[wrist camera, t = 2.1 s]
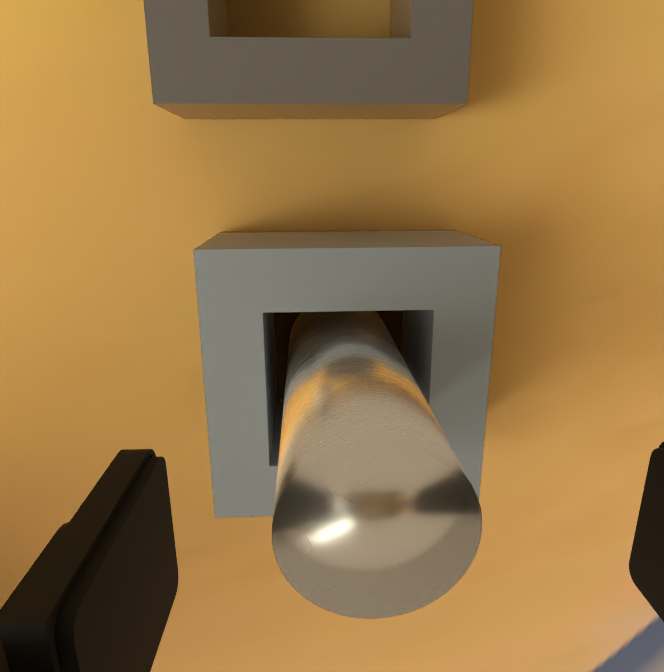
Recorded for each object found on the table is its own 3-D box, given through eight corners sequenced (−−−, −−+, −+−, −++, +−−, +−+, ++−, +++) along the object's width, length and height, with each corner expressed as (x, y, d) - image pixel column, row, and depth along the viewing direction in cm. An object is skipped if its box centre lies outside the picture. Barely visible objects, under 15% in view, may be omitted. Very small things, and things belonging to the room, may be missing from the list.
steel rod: (386, 387, 22) (473, 614, 11) (290, 389, 22) (275, 623, 10) (388, 294, 21) (490, 435, 9) (288, 296, 21) (267, 441, 9)
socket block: (442, 439, 23) (478, 508, 18) (233, 445, 23) (214, 517, 18) (454, 230, 20) (500, 246, 16) (220, 232, 20) (193, 249, 15)
